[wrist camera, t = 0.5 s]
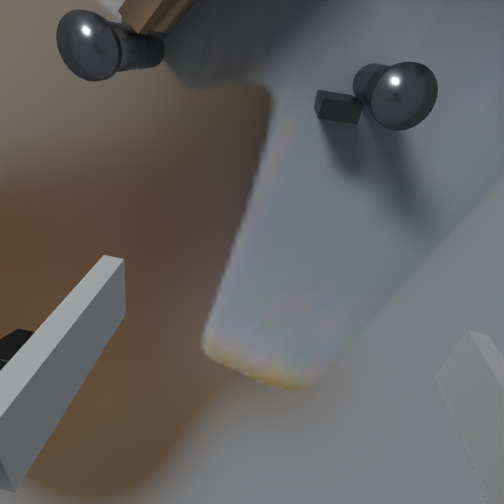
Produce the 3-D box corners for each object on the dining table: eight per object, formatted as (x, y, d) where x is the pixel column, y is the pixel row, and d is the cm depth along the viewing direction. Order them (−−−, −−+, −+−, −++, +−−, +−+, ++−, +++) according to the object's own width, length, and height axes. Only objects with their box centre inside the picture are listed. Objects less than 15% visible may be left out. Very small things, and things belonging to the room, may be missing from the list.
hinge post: (124, 18, 30) (51, 4, 21) (168, 25, 30) (114, 14, 21) (127, 68, 32) (61, 76, 23) (168, 75, 32) (118, 85, 23)
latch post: (326, 50, 30) (341, 50, 21) (400, 62, 30) (448, 67, 21) (314, 107, 32) (322, 129, 23) (382, 118, 32) (418, 145, 23)
